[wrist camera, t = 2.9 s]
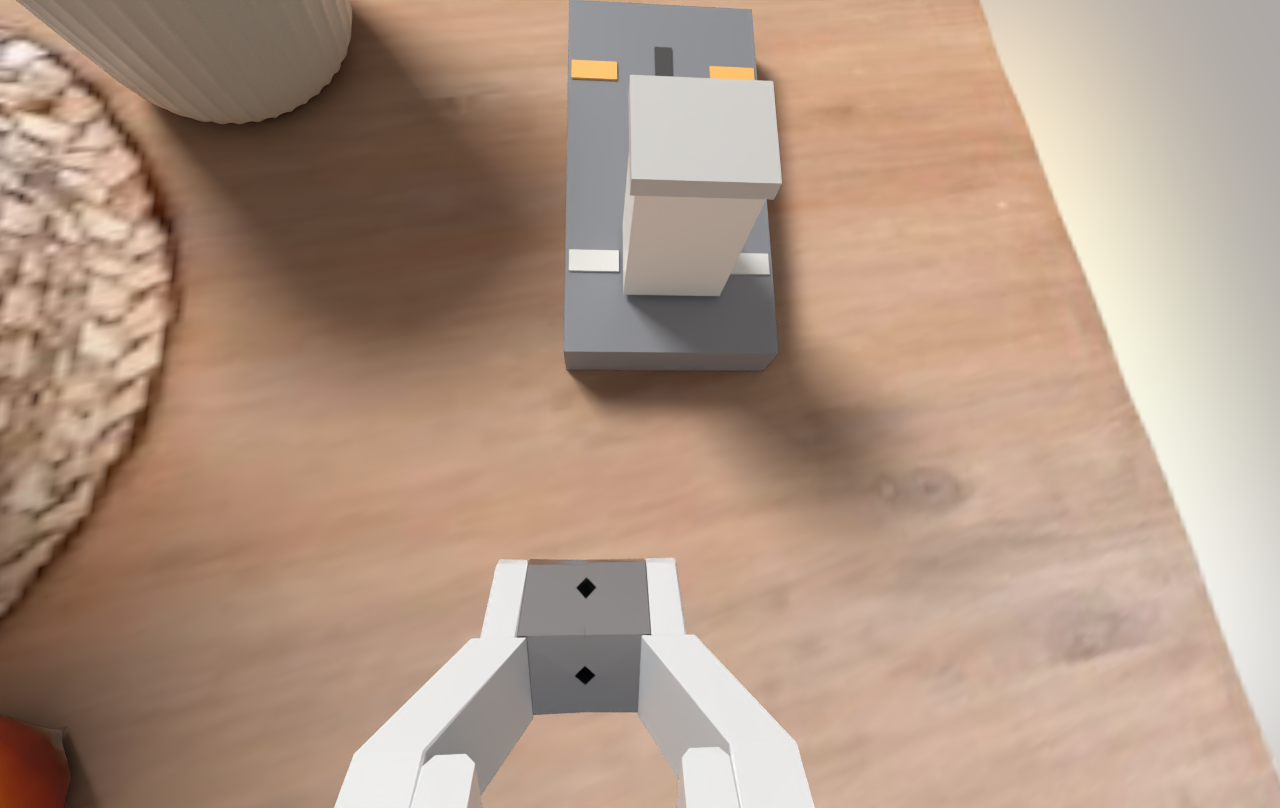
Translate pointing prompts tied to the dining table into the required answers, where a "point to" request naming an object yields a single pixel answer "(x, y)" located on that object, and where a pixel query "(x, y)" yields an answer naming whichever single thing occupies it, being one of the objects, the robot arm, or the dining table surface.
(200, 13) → the canister
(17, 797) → the fruit
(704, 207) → the fader tab
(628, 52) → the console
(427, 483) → the dining table surface
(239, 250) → the dining table surface
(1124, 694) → the dining table surface
